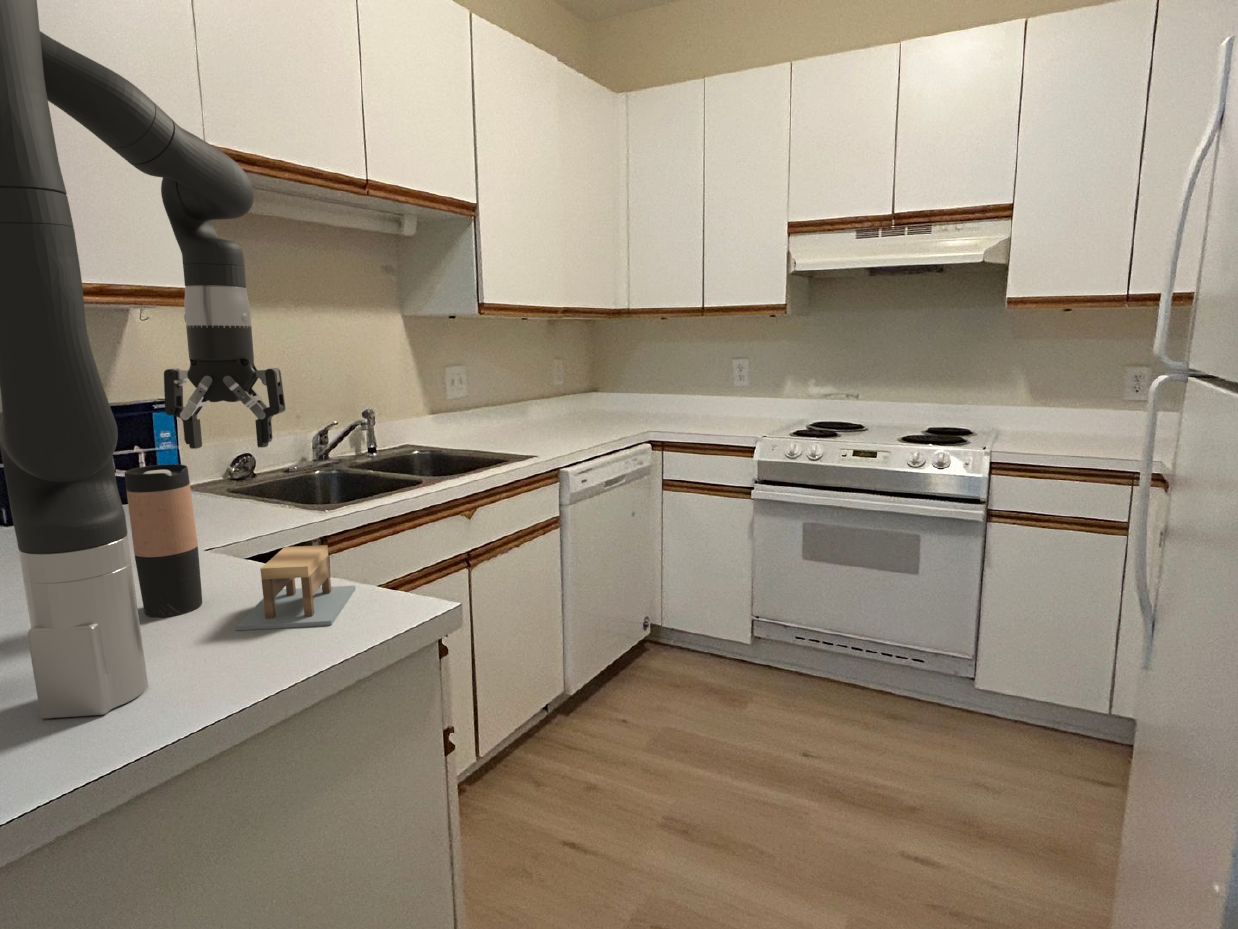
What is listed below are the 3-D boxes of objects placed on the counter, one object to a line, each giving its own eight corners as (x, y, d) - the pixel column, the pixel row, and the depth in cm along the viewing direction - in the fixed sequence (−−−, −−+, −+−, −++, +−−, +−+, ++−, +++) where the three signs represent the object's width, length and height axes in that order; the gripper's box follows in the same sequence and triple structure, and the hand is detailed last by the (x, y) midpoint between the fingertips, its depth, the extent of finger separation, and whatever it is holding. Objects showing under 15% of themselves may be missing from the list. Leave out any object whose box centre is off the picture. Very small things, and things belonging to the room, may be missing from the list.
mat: (331, 625, 100) (331, 620, 100) (236, 630, 99) (235, 626, 99) (355, 589, 114) (355, 585, 114) (272, 593, 113) (271, 589, 113)
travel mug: (148, 602, 110) (130, 466, 106) (208, 595, 112) (192, 462, 109) (136, 621, 103) (116, 476, 99) (200, 613, 105) (183, 471, 102)
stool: (288, 593, 111) (284, 547, 110) (331, 591, 112) (327, 545, 110) (265, 619, 101) (260, 568, 100) (312, 616, 102) (307, 566, 101)
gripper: (285, 324, 103) (294, 442, 105) (174, 323, 101) (186, 444, 104) (266, 323, 95) (275, 450, 98) (146, 322, 94) (159, 452, 97)
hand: (229, 447), depth 101 cm, fingers open, 8 cm apart
